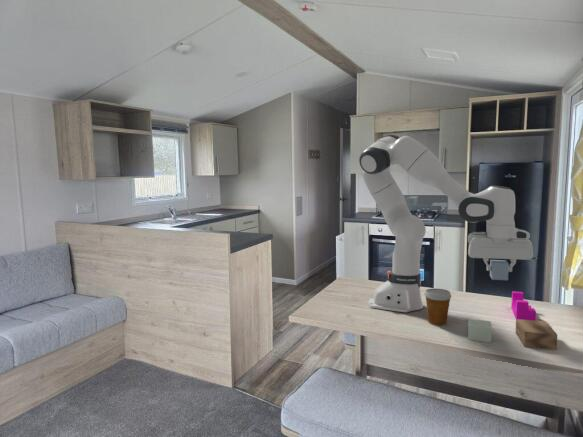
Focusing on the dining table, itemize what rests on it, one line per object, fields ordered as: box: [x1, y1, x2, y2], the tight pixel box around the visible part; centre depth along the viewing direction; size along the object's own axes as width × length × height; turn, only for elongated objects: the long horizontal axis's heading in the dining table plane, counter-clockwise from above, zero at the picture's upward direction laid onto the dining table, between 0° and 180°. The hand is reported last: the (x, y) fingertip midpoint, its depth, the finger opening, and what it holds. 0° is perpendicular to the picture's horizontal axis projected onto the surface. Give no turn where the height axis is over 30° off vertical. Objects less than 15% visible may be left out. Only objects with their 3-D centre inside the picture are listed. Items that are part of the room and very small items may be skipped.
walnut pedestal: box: [515, 318, 558, 351], centre depth 132 cm, size 9×12×5 cm
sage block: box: [467, 318, 493, 343], centre depth 136 cm, size 7×7×5 cm
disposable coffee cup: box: [424, 287, 452, 326], centre depth 150 cm, size 10×10×12 cm
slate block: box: [489, 259, 510, 281], centre depth 141 cm, size 5×5×6 cm
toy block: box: [510, 290, 537, 321], centre depth 157 cm, size 15×6×8 cm, turn 158°
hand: (499, 271), depth 141 cm, fingers closed on slate block, 5 cm apart
